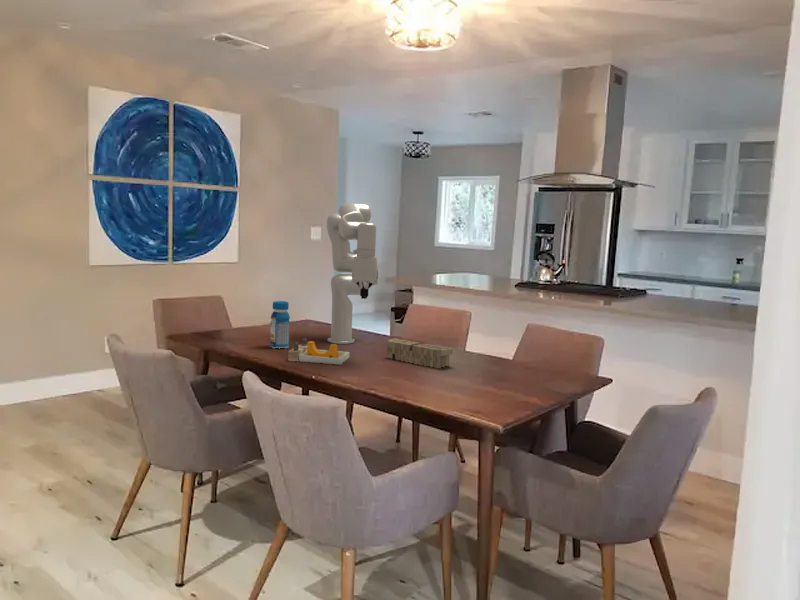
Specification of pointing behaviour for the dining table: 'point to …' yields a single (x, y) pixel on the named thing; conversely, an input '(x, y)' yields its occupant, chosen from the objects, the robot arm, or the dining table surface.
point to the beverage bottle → (280, 325)
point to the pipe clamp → (314, 352)
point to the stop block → (297, 350)
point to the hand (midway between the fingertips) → (364, 298)
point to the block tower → (418, 353)
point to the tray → (324, 358)
